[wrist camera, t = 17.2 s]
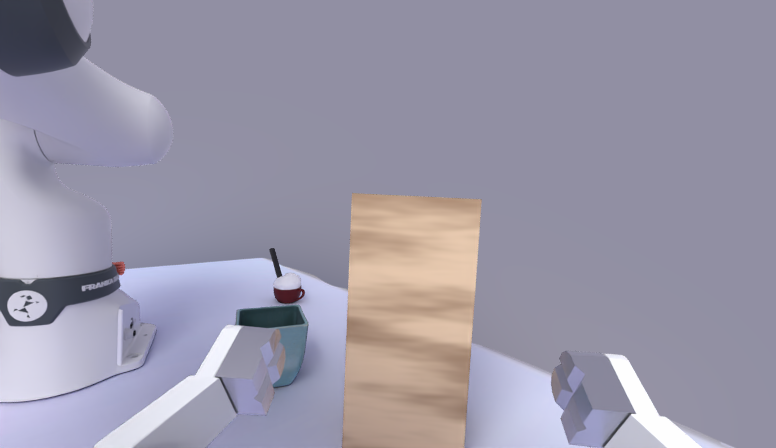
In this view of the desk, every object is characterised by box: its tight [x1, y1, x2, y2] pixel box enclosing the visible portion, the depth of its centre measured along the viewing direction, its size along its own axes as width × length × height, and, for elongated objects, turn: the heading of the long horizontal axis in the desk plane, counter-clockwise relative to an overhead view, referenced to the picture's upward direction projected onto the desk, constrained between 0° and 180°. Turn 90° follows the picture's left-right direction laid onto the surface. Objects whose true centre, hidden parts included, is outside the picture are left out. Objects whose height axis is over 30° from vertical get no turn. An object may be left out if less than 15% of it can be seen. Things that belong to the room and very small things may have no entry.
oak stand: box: [342, 193, 481, 448], centre depth 38 cm, size 10×12×26 cm
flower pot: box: [235, 305, 308, 387], centre depth 47 cm, size 9×9×9 cm
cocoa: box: [270, 248, 305, 304], centre depth 81 cm, size 10×6×12 cm, turn 47°
